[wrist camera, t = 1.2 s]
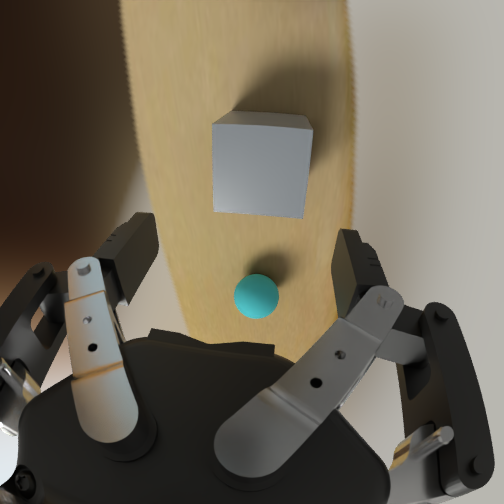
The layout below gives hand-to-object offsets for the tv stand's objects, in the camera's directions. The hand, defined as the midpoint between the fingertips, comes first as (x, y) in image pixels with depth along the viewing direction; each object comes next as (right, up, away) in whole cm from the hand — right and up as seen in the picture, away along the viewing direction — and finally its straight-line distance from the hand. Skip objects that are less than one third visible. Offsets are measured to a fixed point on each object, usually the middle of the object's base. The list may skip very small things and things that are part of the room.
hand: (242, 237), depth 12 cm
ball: (+1, -6, +20) cm, 21 cm away
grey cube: (+2, +9, +13) cm, 16 cm away
